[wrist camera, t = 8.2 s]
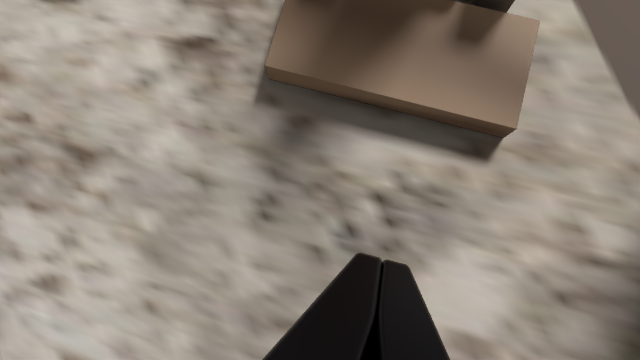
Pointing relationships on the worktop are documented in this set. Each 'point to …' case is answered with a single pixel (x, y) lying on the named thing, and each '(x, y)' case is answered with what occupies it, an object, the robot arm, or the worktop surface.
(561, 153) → the worktop surface
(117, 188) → the worktop surface
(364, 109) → the worktop surface
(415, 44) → the stand
